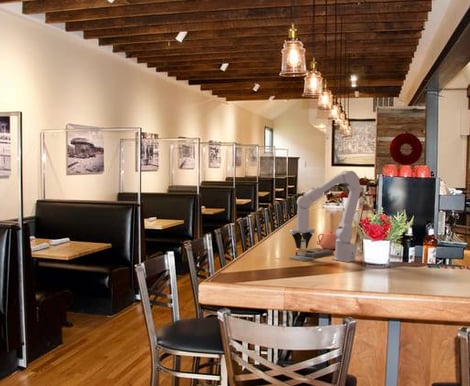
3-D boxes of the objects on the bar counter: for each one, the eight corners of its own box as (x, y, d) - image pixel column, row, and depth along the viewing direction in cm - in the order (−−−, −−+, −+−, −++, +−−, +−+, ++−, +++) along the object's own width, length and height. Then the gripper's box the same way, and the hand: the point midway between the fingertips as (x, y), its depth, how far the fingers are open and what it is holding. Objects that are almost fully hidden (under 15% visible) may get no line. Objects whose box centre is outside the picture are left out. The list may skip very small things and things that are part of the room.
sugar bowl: (343, 250, 272) (344, 232, 272) (318, 250, 273) (318, 231, 272) (339, 247, 285) (339, 229, 284) (314, 246, 285) (315, 228, 284)
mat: (313, 259, 242) (313, 258, 242) (304, 261, 237) (304, 260, 237) (298, 256, 249) (298, 255, 249) (289, 258, 243) (289, 257, 243)
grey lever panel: (333, 254, 260) (333, 250, 260) (311, 258, 246) (312, 254, 246) (317, 251, 267) (317, 247, 267) (295, 255, 253) (295, 251, 252)
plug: (307, 254, 245) (308, 239, 244) (306, 256, 239) (307, 240, 239) (296, 253, 246) (296, 238, 246) (295, 255, 241) (295, 240, 240)
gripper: (296, 221, 234) (295, 250, 235) (319, 220, 242) (318, 248, 243) (287, 220, 240) (286, 248, 241) (309, 219, 248) (308, 246, 249)
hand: (301, 248), depth 242 cm, fingers closed on plug, 4 cm apart
